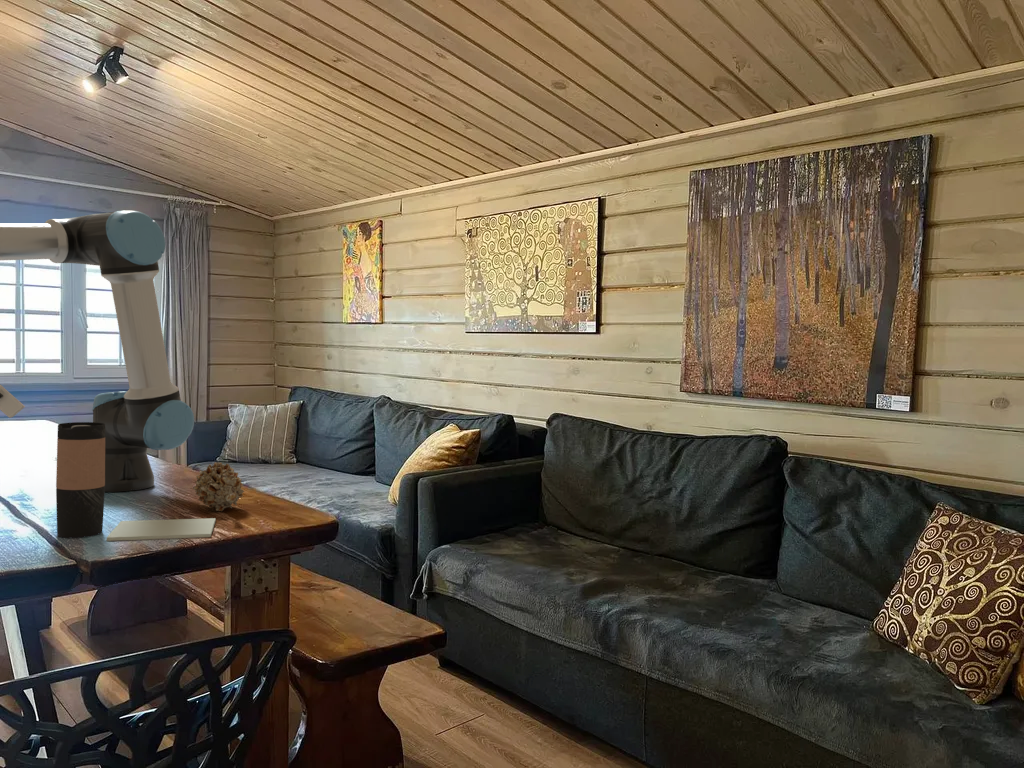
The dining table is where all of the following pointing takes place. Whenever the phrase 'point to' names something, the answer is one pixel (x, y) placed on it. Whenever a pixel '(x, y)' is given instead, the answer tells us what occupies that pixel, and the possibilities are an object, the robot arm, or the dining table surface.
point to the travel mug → (80, 479)
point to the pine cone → (218, 486)
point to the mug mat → (162, 529)
